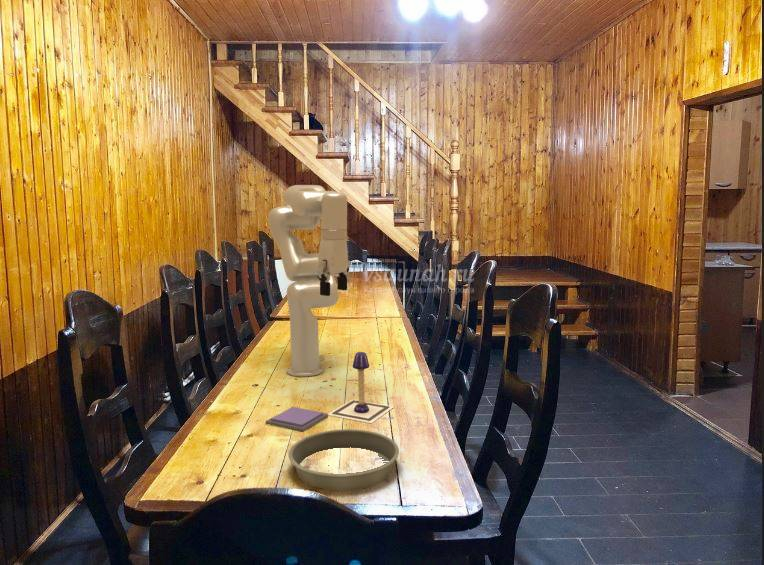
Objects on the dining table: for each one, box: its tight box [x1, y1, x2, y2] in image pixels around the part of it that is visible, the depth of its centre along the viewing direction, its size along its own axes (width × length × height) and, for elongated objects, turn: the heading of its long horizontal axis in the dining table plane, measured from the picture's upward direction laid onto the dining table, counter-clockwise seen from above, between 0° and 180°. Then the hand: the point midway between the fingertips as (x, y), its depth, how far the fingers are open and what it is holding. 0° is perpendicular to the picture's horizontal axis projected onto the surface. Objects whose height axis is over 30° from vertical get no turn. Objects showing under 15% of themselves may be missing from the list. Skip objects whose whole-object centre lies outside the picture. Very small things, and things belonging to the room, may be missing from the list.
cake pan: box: [288, 428, 400, 491], centre depth 136 cm, size 25×25×4 cm
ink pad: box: [265, 406, 329, 433], centre depth 165 cm, size 12×12×1 cm
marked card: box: [327, 399, 395, 424], centre depth 172 cm, size 14×14×1 cm
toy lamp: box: [352, 351, 370, 413], centre depth 171 cm, size 5×5×17 cm
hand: (333, 292), depth 182 cm, fingers open, 9 cm apart
